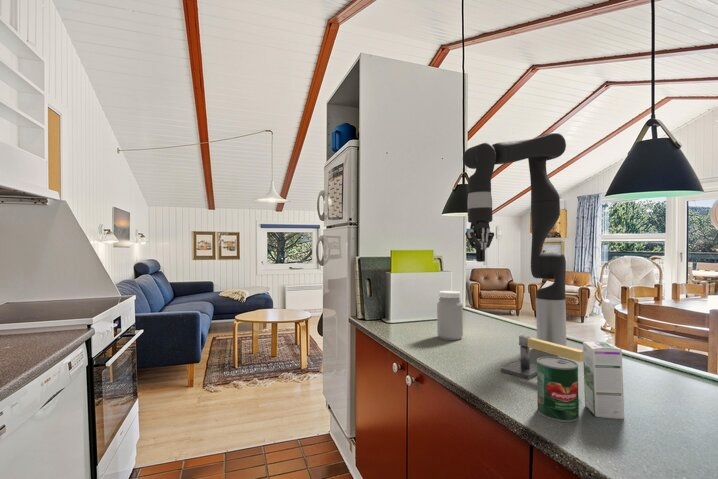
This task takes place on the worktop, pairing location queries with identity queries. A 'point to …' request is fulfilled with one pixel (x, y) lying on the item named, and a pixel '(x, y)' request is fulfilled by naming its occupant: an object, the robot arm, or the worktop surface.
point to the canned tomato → (557, 389)
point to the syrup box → (603, 379)
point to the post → (522, 365)
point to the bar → (552, 348)
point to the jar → (450, 315)
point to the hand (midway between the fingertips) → (480, 261)
